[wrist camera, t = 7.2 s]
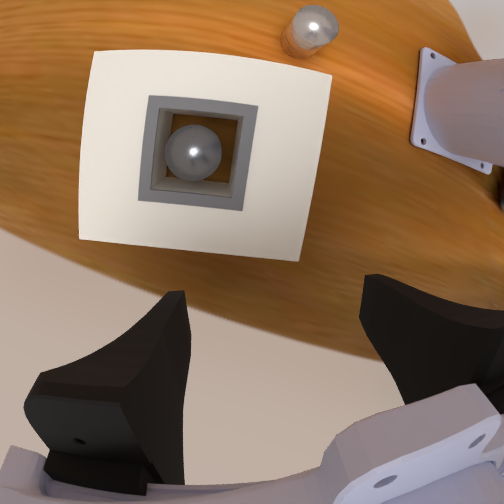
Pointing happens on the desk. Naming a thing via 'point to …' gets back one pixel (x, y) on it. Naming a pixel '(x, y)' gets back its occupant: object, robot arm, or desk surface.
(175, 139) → the long pin
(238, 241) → the pin block
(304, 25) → the short pin
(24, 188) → the desk surface
